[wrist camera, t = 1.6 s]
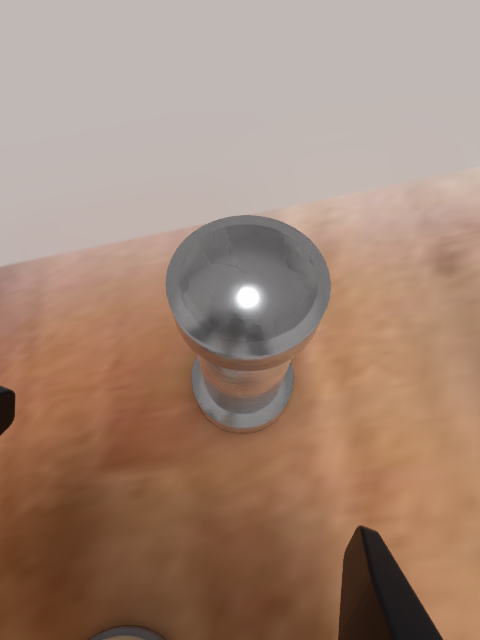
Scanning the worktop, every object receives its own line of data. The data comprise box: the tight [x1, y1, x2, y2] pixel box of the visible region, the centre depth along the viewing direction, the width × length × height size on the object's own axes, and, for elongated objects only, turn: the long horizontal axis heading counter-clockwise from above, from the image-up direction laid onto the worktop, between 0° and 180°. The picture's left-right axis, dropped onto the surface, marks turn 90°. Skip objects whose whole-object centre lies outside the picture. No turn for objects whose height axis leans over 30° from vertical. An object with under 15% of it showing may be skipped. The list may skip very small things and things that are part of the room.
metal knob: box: [166, 215, 331, 434], centre depth 17 cm, size 6×6×12 cm
